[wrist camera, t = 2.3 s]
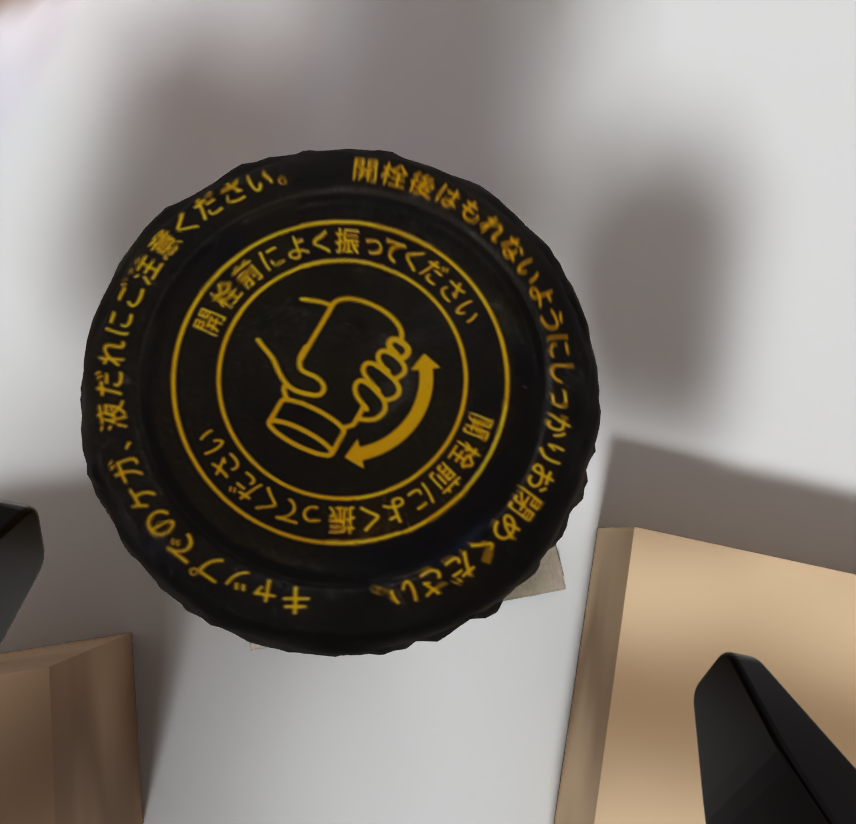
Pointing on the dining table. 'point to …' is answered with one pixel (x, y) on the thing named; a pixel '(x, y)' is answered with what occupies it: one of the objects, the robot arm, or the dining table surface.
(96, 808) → the block
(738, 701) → the robot arm
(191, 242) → the condiment
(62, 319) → the dining table surface
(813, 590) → the foundation
